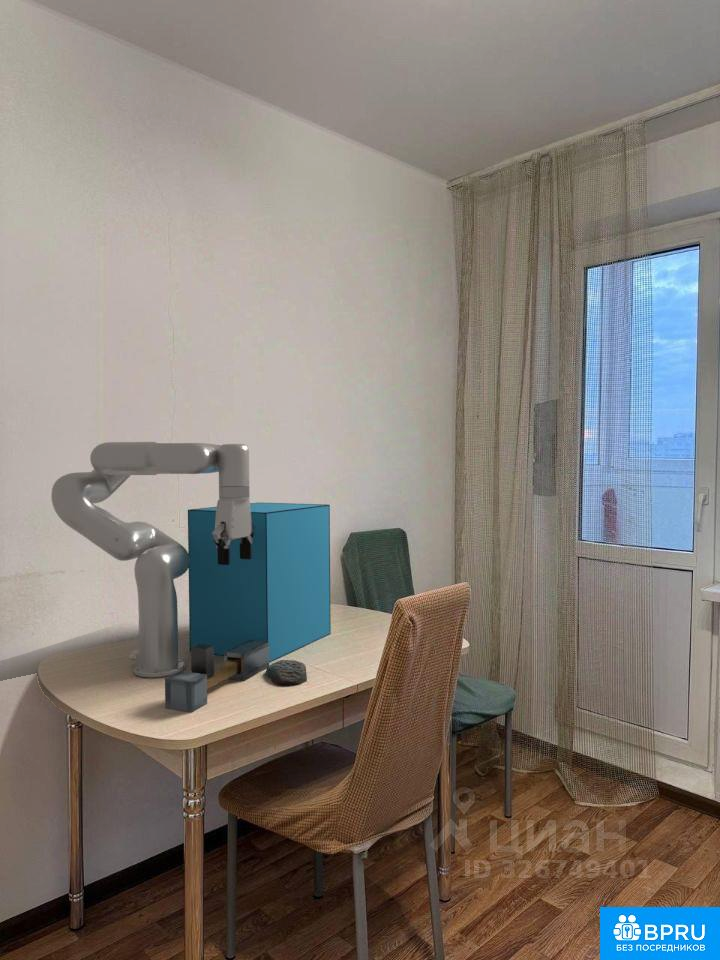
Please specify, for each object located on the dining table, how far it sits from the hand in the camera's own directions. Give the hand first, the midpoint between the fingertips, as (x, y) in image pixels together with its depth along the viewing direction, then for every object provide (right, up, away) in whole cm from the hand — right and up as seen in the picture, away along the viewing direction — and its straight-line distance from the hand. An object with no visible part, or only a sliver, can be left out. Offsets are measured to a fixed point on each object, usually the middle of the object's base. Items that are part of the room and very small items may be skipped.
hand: (235, 561), depth 168 cm
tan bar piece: (-3, -27, -12) cm, 29 cm away
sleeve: (+3, -28, +2) cm, 28 cm away
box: (+3, -28, +30) cm, 41 cm away
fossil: (+13, -29, -2) cm, 32 cm away
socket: (-7, -29, -21) cm, 36 cm away
